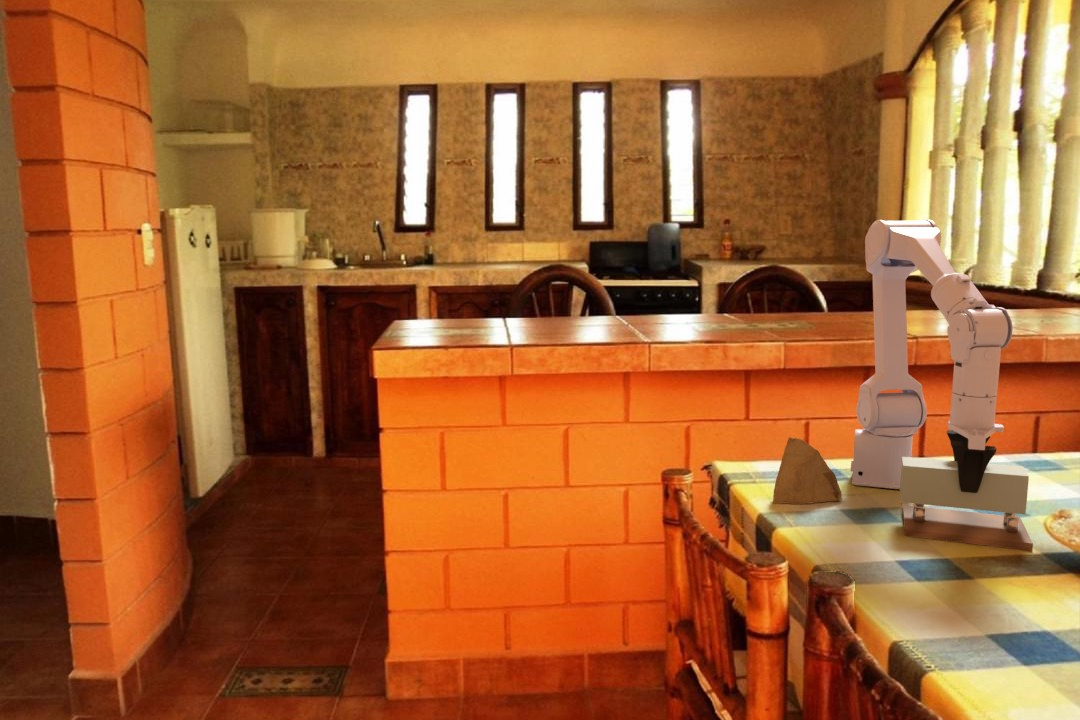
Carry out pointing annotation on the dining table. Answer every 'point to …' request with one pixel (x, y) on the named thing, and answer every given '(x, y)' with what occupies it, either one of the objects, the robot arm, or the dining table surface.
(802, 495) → the rock
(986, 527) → the peg rack
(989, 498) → the off-white rectangular block
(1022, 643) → the dining table surface
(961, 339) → the robot arm
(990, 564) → the dining table surface
